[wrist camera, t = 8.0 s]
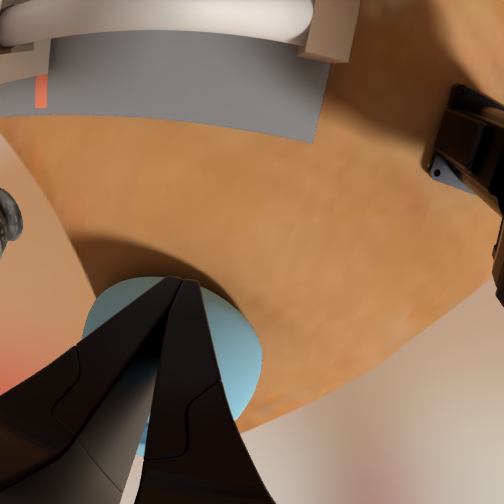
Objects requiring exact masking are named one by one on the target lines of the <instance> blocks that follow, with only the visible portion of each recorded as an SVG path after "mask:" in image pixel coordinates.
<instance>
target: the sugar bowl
mask: <svg viewBox="0 0 504 504" xmlns="http://www.w3.org/2000/svg"><path fill="white" fill-rule="evenodd" d="M163 278H165V277H138V278H131V279H127V280H124V281H121V282H119V283H117V284H114V285H112V286H111V287H109V288H108V289H106V290H105V291H104V292H102V293H101V294H100V295H99V297H98V298H97V299H96V301H95V302H94V304H93V306H92V308H91V310H90V312H89V314H88V317H87V320H86V324H85V327H84V331H83V335H82V339H83V338H85V337H86V336H87V335H89V334H90V333H91V332H92V331H94V330H95V329H96V328H98V327H99V326H100V325H102V324H103V323H104V322H106V321H107V320H108V319H110V318H111V317H112V316H114V315H115V314H116V313H118V312H119V311H120V310H121V309H123V308H124V307H125V306H127V305H128V304H129V303H131V302H132V301H134V300H135V299H136V298H138V297H139V296H140V295H142V294H143V293H144V292H146V291H147V290H148V289H150V288H151V287H152V286H154V285H155V284H156V283H158V282H159V281H161V280H162V279H163ZM201 291H202V296H203V300H204V305H205V310H206V314H207V319H208V323H209V328H210V332H211V337H212V341H213V345H214V349H215V354H216V358H217V362H218V366H219V370H220V374H221V378H222V382H223V386H224V390H225V393H226V397H227V400H228V404H229V407H230V410H231V413H232V416H233V419H234V421H235V420H236V419H237V418H238V417H239V416H240V414H241V413H242V412H243V411H244V409H245V407H246V406H247V404H248V402H249V401H250V399H251V397H252V395H253V393H254V391H255V388H256V385H257V383H258V379H259V376H260V373H261V366H262V356H263V355H262V347H261V344H260V341H259V339H258V336H257V334H256V332H255V330H254V329H253V327H252V326H251V324H250V323H249V322H248V320H247V319H246V318H245V317H244V316H243V315H242V314H241V313H240V312H239V311H238V310H237V309H236V308H235V307H233V306H232V305H231V304H230V303H229V302H227V301H226V300H224V299H223V298H221V297H220V296H218V295H217V294H215V293H213V292H211V291H209V290H208V289H206V288H203V287H201ZM149 417H150V414H149ZM149 417H148V420H147V423H146V426H145V428H144V431H143V434H142V437H141V440H140V443H139V446H138V449H137V452H136V454H138V455H141V456H144V451H145V444H146V437H147V430H148V423H149Z"/></svg>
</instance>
